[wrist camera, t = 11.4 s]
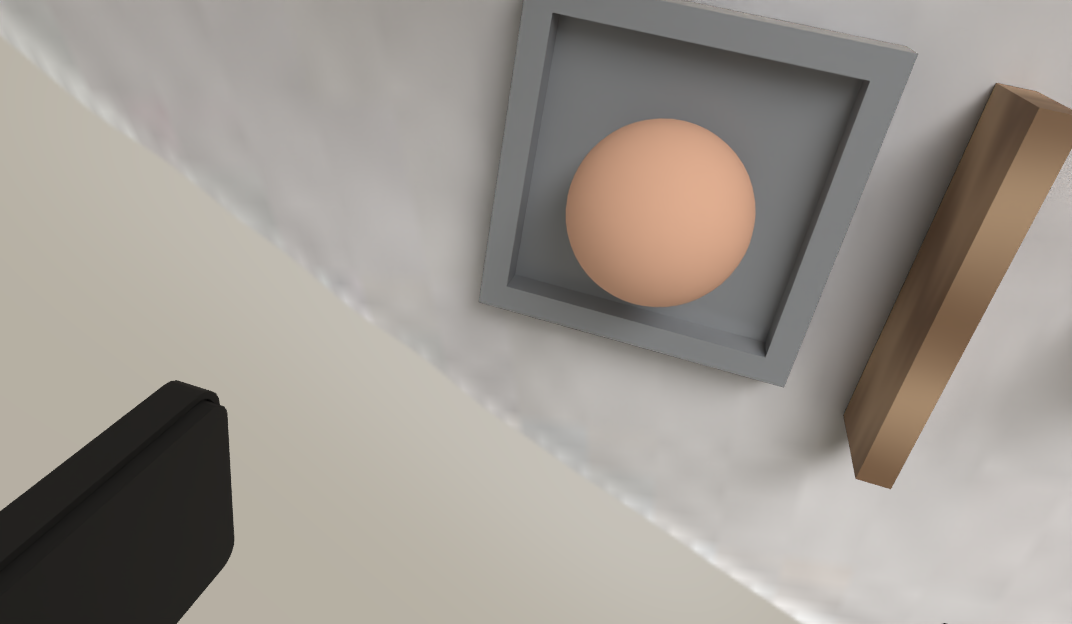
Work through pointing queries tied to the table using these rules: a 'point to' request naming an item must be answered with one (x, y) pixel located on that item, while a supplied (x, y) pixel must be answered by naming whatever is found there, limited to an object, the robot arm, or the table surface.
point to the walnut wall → (955, 274)
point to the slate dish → (722, 108)
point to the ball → (660, 212)
